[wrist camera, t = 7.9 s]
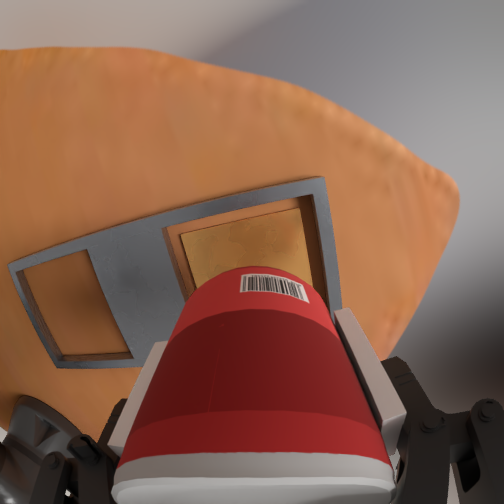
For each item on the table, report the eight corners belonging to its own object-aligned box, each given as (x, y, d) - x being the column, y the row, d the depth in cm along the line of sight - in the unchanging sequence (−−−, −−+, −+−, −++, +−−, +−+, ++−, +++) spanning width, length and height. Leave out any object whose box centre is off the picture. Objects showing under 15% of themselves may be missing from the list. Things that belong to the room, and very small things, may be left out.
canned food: (156, 302, 15) (58, 474, 4) (287, 230, 14) (367, 427, 3) (229, 392, 17) (215, 549, 6) (345, 342, 16) (411, 508, 5)
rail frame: (61, 362, 26) (57, 368, 25) (13, 260, 22) (7, 264, 21) (340, 326, 24) (344, 334, 22) (320, 176, 20) (324, 176, 19)
